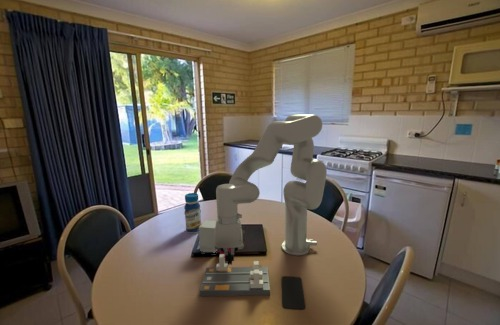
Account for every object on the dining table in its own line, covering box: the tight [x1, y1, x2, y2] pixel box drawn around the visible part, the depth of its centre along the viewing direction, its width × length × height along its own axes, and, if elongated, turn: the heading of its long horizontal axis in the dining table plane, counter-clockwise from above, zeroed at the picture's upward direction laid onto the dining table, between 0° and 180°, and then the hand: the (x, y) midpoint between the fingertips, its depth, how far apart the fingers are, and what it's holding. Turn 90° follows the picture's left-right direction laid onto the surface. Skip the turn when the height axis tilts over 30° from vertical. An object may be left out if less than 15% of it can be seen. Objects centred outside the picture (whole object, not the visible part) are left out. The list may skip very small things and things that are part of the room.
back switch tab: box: [215, 253, 229, 271], centre depth 92 cm, size 4×2×6 cm, turn 90°
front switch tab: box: [250, 270, 263, 288], centre depth 82 cm, size 4×2×6 cm, turn 90°
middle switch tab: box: [250, 260, 263, 279], centre depth 87 cm, size 4×2×6 cm, turn 90°
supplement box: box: [198, 220, 218, 253], centre depth 109 cm, size 7×7×13 cm
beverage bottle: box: [183, 192, 202, 234], centre depth 127 cm, size 8×8×20 cm
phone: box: [281, 275, 306, 311], centre depth 83 cm, size 7×1×15 cm
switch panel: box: [199, 266, 271, 297], centre depth 88 cm, size 24×13×2 cm, turn 90°
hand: (230, 262), depth 92 cm, fingers closed
